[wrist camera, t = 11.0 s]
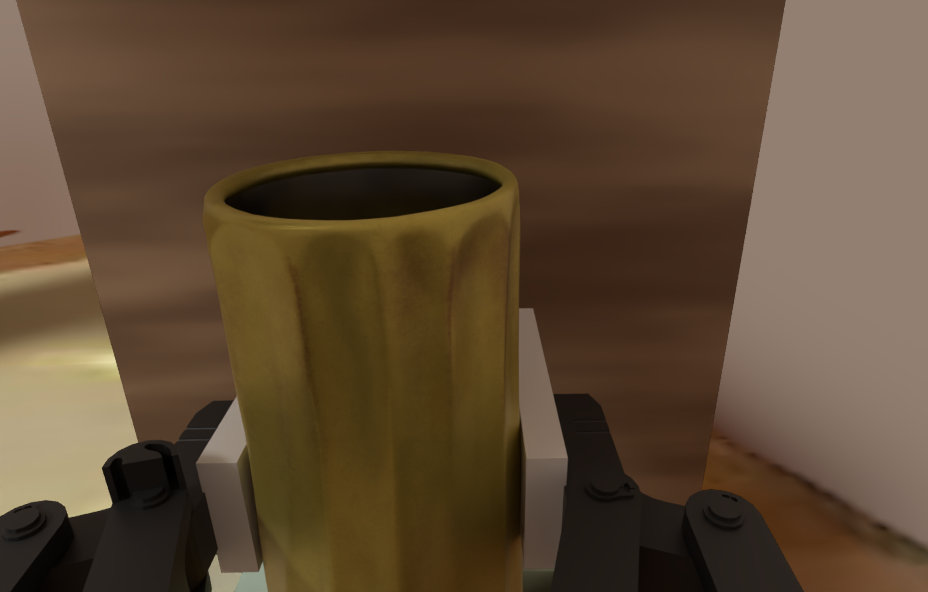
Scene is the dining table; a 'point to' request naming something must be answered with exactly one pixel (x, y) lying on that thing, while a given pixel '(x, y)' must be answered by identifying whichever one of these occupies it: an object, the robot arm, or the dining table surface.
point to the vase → (376, 367)
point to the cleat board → (443, 131)
